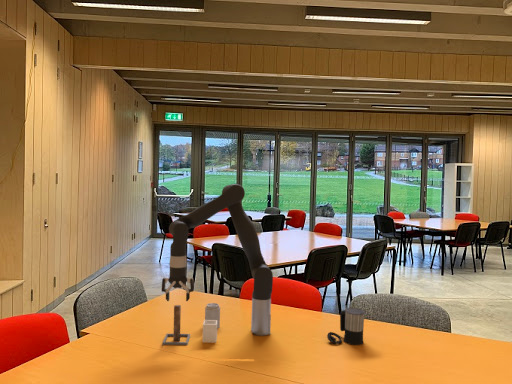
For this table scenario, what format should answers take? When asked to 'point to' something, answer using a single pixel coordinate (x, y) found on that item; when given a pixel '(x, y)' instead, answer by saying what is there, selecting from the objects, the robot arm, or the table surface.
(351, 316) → the milk frother
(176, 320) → the dowel
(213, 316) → the can
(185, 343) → the tray
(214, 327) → the cup
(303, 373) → the table surface
